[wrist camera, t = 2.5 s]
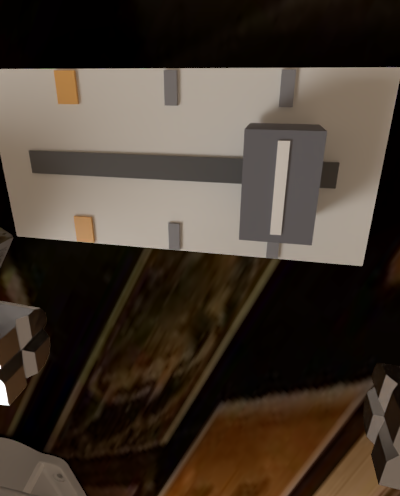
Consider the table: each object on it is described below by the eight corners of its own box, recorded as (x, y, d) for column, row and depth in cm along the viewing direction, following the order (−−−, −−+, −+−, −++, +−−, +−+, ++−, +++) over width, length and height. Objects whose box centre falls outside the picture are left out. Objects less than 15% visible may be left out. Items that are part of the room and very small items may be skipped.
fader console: (383, 70, 24) (403, 66, 20) (351, 243, 28) (362, 267, 25) (20, 71, 28) (-20, 68, 24) (45, 220, 33) (15, 237, 29)
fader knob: (319, 124, 21) (327, 131, 18) (306, 222, 24) (311, 246, 20) (250, 122, 22) (244, 129, 18) (244, 217, 24) (238, 240, 21)
